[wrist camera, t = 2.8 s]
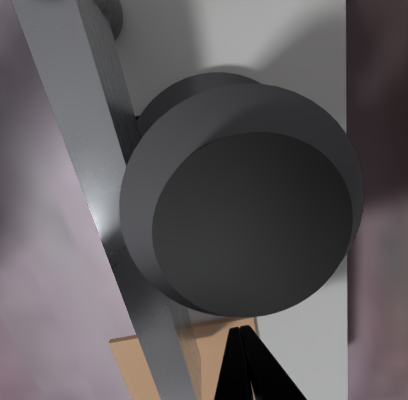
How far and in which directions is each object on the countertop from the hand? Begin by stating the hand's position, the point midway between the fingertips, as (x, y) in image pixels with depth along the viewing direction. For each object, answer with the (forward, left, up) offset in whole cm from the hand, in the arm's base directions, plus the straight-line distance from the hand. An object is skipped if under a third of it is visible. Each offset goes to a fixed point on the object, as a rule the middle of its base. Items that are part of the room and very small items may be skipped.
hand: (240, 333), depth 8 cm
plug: (0, +6, -4) cm, 8 cm away
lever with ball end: (-3, +6, -1) cm, 6 cm away
